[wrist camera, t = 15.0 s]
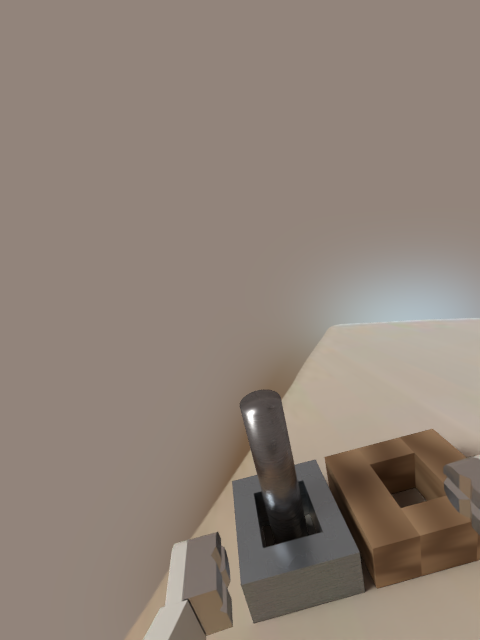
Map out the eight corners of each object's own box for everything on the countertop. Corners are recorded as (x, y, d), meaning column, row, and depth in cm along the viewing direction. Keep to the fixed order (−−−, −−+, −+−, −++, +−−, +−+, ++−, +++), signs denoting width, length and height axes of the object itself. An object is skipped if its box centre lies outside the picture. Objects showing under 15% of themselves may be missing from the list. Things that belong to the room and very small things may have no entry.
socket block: (321, 491, 30) (315, 459, 29) (364, 591, 21) (359, 552, 20) (241, 513, 30) (232, 481, 28) (253, 623, 21) (241, 584, 20)
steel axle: (304, 525, 27) (275, 385, 23) (316, 561, 24) (285, 408, 20) (273, 533, 27) (237, 395, 22) (281, 570, 24) (242, 419, 19)
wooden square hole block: (433, 461, 31) (432, 428, 29) (520, 548, 22) (524, 506, 21) (329, 489, 30) (324, 457, 29) (376, 588, 22) (372, 548, 20)
